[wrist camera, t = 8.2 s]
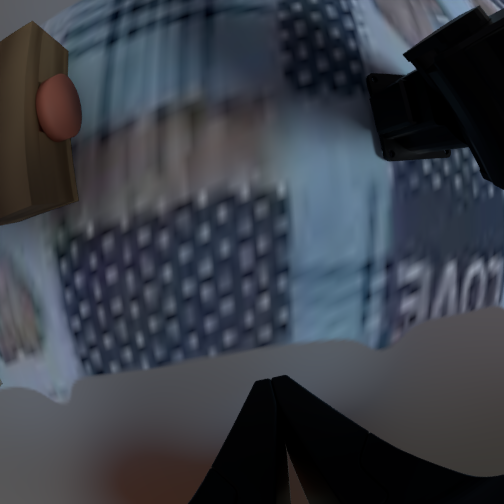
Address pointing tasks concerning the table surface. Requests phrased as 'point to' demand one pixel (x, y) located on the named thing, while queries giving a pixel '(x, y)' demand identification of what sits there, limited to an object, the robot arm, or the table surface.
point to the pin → (58, 108)
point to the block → (30, 129)
